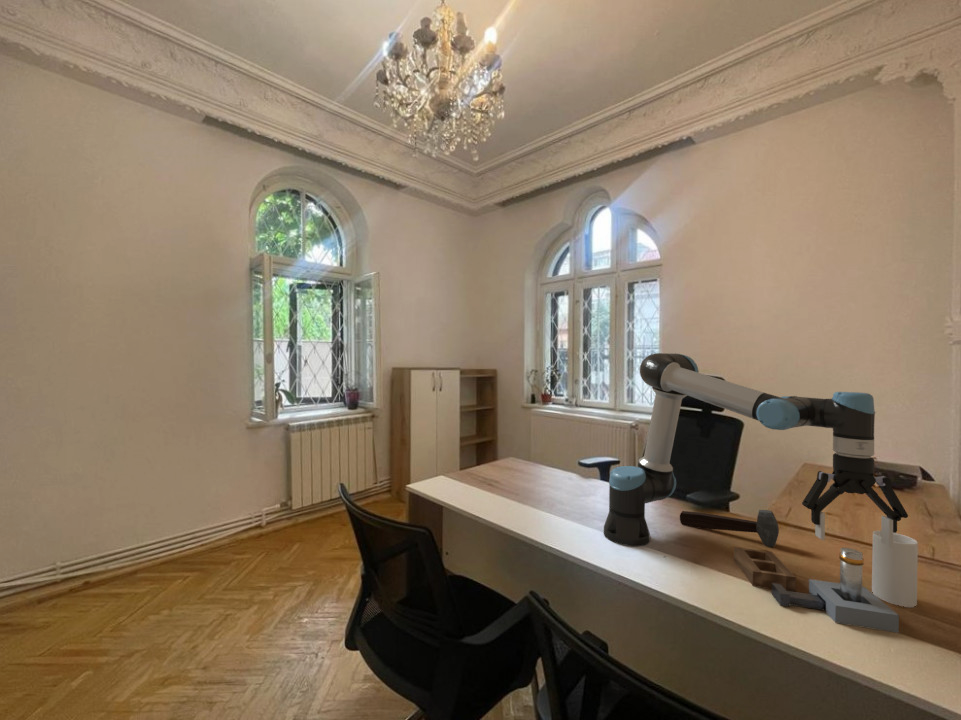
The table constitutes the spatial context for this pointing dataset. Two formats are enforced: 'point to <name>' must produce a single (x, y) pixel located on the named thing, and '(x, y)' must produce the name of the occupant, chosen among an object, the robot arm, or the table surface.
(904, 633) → the table surface
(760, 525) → the hammer
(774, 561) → the rack
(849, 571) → the rod
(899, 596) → the cup
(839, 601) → the socket block
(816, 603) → the dark grey t-shaped block
